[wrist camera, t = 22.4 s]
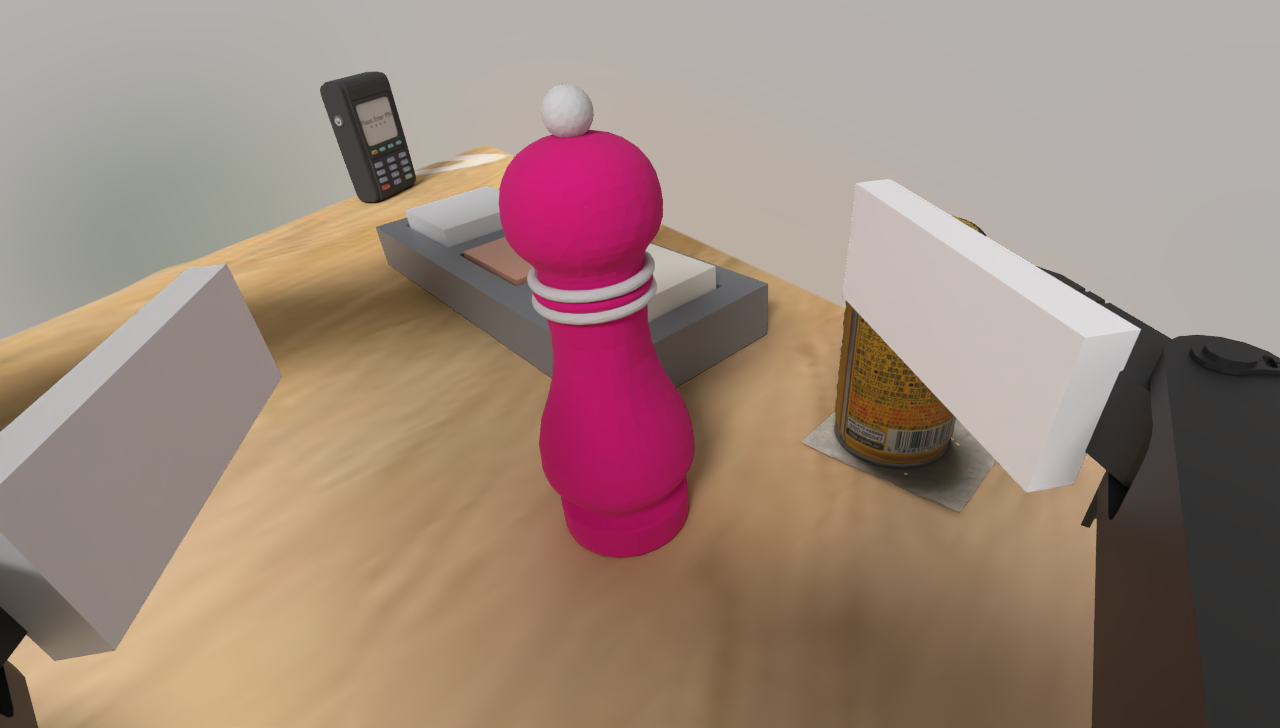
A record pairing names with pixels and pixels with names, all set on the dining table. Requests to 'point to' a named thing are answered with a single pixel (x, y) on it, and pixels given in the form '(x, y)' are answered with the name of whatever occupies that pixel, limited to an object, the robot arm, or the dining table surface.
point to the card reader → (369, 134)
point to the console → (510, 318)
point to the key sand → (677, 280)
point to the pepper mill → (599, 330)
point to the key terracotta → (500, 261)
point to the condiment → (897, 422)
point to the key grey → (458, 217)
